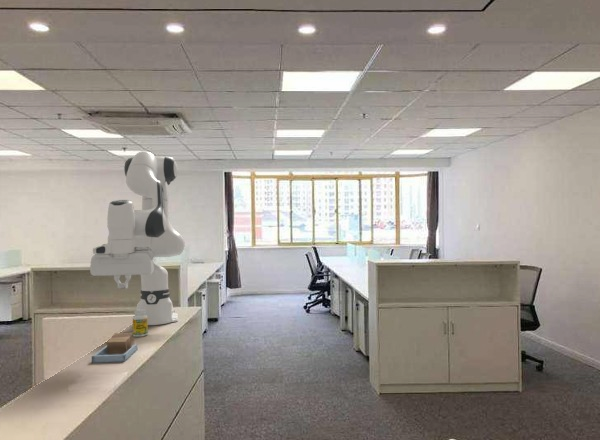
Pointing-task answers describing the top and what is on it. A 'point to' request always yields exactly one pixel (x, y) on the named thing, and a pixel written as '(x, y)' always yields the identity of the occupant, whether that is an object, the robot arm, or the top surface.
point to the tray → (113, 355)
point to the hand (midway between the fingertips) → (122, 288)
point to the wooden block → (120, 343)
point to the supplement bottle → (140, 323)
